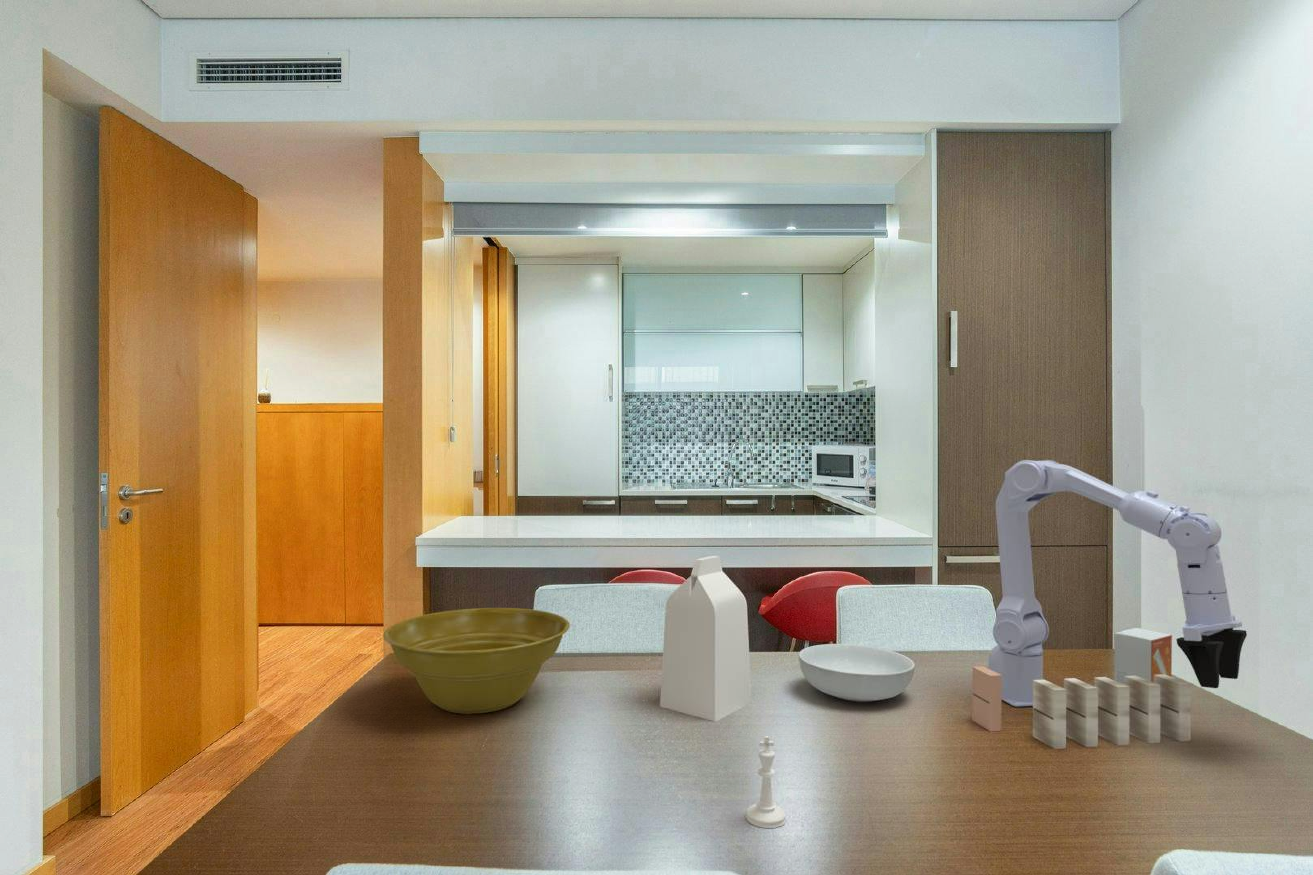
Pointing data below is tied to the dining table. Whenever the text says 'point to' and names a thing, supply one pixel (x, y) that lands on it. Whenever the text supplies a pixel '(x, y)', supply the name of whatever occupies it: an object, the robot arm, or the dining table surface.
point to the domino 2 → (1081, 712)
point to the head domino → (986, 698)
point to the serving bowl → (856, 671)
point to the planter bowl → (476, 654)
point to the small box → (1142, 654)
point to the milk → (706, 645)
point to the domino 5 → (1174, 707)
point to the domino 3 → (1113, 710)
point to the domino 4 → (1144, 709)
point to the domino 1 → (1049, 714)
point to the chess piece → (766, 794)
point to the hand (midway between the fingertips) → (1219, 682)
